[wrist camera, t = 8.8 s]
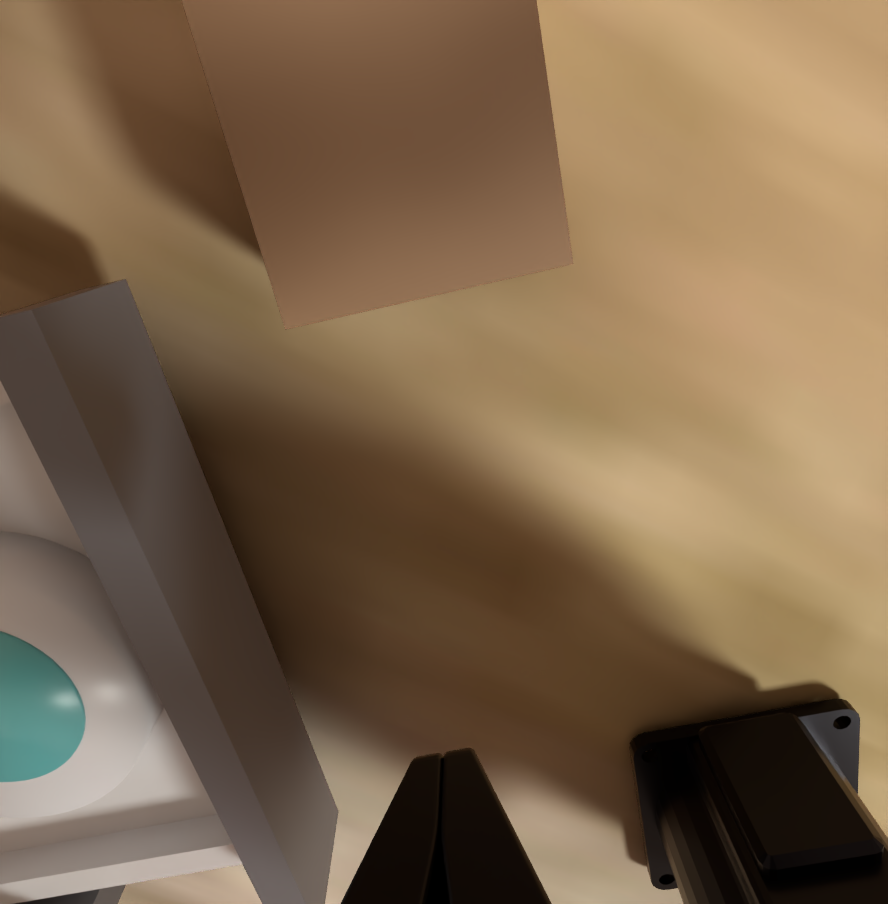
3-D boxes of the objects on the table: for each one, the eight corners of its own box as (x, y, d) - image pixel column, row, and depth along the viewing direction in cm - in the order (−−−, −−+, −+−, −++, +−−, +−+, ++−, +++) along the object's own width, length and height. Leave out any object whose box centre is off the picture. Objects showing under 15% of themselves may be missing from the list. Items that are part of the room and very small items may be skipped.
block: (541, 244, 14) (573, 263, 11) (317, 295, 15) (285, 329, 11) (498, -28, 12) (522, -102, 9) (243, 38, 13) (178, -10, 9)
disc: (211, 738, 17) (188, 795, 15) (-41, 782, 17) (-86, 841, 16) (103, 503, 14) (62, 544, 13) (-191, 562, 15) (-264, 607, 13)
